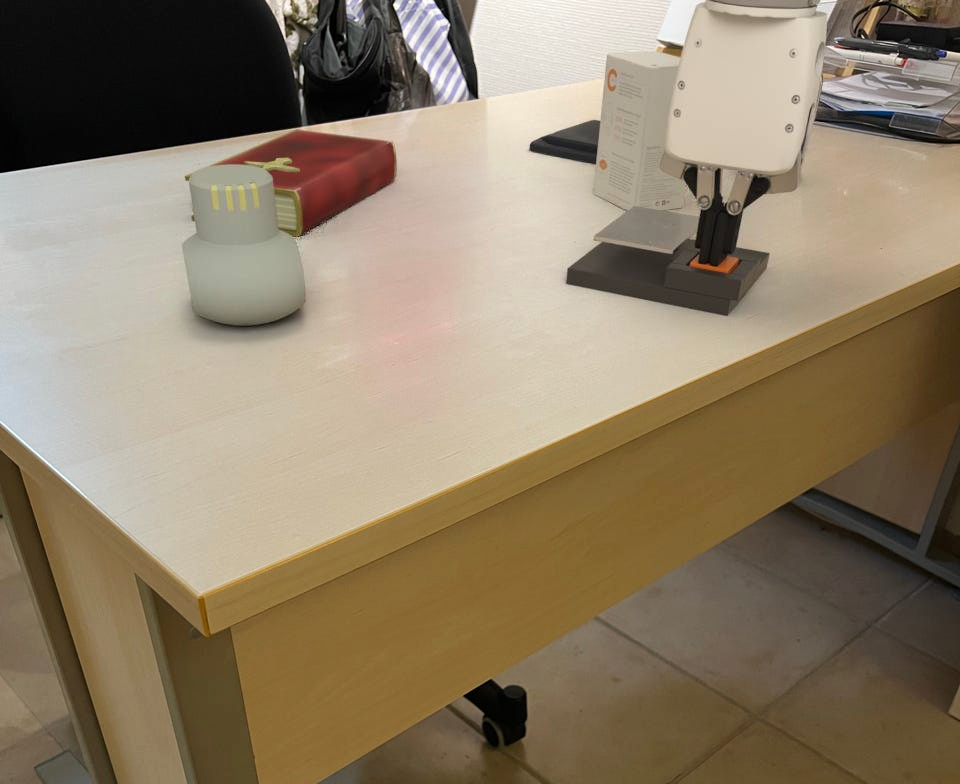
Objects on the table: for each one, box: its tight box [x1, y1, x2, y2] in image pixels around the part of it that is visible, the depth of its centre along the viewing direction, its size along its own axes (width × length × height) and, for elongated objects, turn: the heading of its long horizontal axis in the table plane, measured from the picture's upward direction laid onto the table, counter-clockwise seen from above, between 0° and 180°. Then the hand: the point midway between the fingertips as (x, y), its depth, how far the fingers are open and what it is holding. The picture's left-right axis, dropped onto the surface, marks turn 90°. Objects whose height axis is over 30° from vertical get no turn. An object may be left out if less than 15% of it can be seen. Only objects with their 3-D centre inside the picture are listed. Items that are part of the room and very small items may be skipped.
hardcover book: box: [184, 129, 398, 238], centre depth 95 cm, size 12×21×4 cm, turn 159°
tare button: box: [690, 255, 739, 274], centre depth 77 cm, size 3×3×2 cm
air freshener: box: [181, 164, 307, 327], centre depth 70 cm, size 11×8×10 cm
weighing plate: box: [593, 206, 700, 255], centre depth 82 cm, size 7×10×1 cm
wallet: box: [528, 119, 600, 165], centre depth 114 cm, size 20×2×15 cm
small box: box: [592, 50, 687, 212], centre depth 95 cm, size 8×6×13 cm
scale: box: [565, 238, 770, 317], centre depth 81 cm, size 14×13×3 cm
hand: (712, 259), depth 76 cm, fingers closed
